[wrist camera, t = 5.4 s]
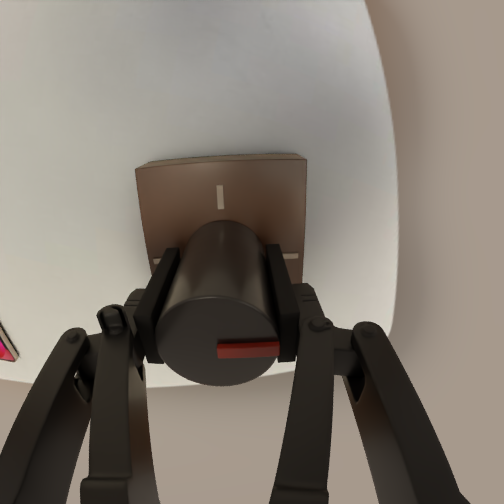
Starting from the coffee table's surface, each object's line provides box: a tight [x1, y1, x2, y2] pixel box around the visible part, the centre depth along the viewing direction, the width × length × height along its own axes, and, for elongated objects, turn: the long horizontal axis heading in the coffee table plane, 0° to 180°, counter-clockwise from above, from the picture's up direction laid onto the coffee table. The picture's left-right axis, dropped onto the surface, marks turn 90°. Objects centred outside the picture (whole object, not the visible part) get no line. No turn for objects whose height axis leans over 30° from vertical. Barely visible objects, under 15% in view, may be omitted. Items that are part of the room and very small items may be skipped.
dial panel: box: [135, 154, 307, 284], centre depth 19 cm, size 12×10×3 cm
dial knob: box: [154, 221, 280, 386], centre depth 14 cm, size 5×5×8 cm
